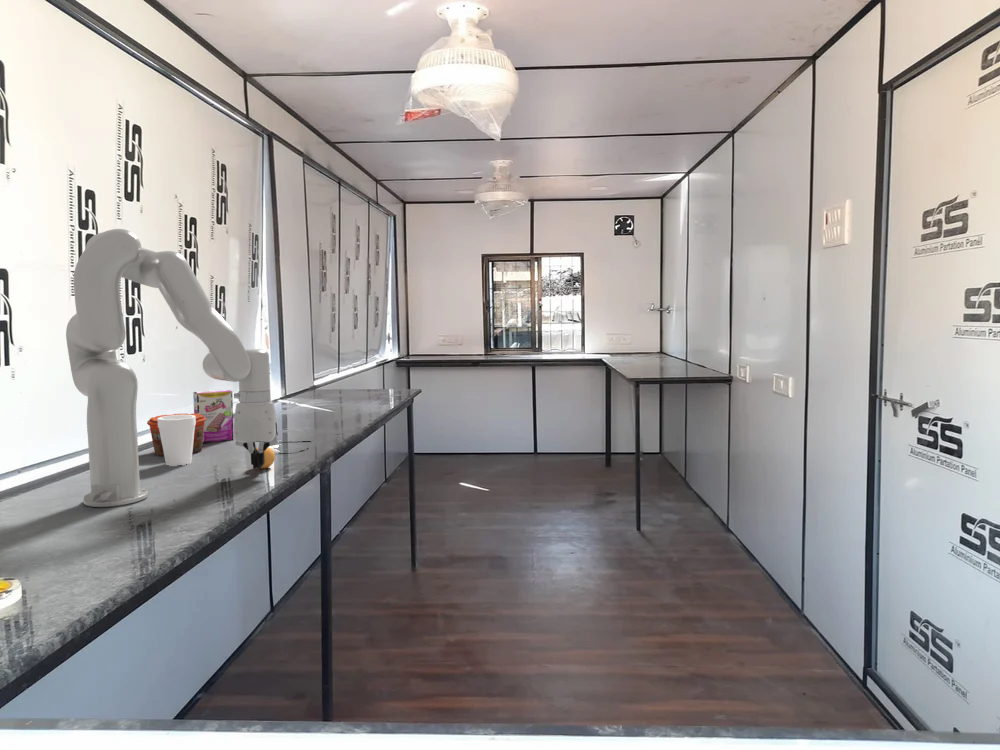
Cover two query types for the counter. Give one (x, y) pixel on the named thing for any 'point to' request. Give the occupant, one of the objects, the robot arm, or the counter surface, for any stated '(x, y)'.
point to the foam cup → (177, 438)
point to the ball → (268, 457)
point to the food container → (197, 433)
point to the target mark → (275, 449)
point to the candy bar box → (215, 414)
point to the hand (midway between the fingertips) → (258, 467)
